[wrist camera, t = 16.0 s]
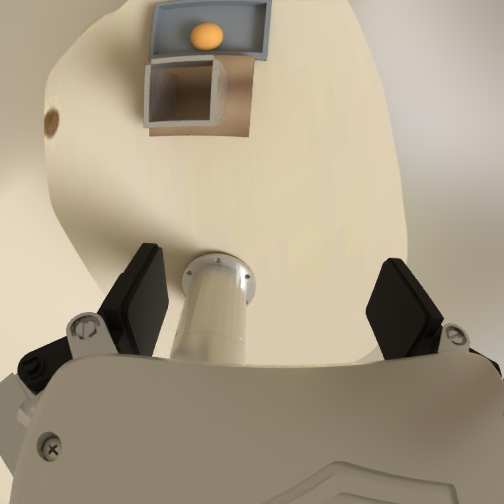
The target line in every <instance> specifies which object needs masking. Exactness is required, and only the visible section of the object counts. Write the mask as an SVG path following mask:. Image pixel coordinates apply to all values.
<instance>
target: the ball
mask: <svg viewBox="0 0 504 504" xmlns="http://www.w3.org/2000/svg"><path fill="white" fill-rule="evenodd" d="M222 40H223V32H222V30H221V28H220V27H219V26H217V25H216V24H213V23H203V24H200V25H198V26H197V27H195V28H194V30H193V31H192V33H191V42H192V44H193V46H194V47H196V48H197V49H199V50H203V51H208V50H212V49H215V48H216V47H218V46H219V45H220V44H221V42H222Z"/></svg>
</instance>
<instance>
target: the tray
mask: <svg viewBox="0 0 504 504" xmlns="http://www.w3.org/2000/svg"><path fill="white" fill-rule="evenodd" d="M271 5H272V0H176V1H168V2H161V3H155V9H154V15H153V22H152V30H151V39H150V49H149V60H150V61H151V59H158V58H167V57H179V56H195V55H236V56H255V60H263V61H266V60H267V53H268V41H269V29H270V17H271ZM203 23H213V24H216V25H217V26H219V27H220V28H221V30H222V32H223V40H222V42H221V44H220V45H219V46H218V47H216V48H215V49H212V50H208V51H203V50H199V49H197V48H196V47H194V46H193V44H192V42H191V33H192V31H193V30H194V28H195V27H197V26H198V25H200V24H203Z"/></svg>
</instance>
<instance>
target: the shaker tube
mask: <svg viewBox="0 0 504 504" xmlns="http://www.w3.org/2000/svg"><path fill="white" fill-rule="evenodd" d="M200 66H213V69H212V84H211V102H210V117H176V91H177V74H175V73H173V72H170V71H167V70H165V69H167V68H180V67H200ZM227 84H228V72H227V71H226V69H225V68H224V66H223V65H222V63H221V62H220V61H219V60H217V59H216V58H215V56H214V55H195V56H179V57H167V58H158V59H151V65H145V82H144V128H154V127H176V126H217V125H219V124H221V123H223V122H225V118H226V100H227Z"/></svg>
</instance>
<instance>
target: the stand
mask: <svg viewBox="0 0 504 504" xmlns="http://www.w3.org/2000/svg"><path fill="white" fill-rule="evenodd" d="M214 56H215V58H216V59H217V60H219V61H220V62H221V63H222V65H223V66H224V68H225V69H226V71H227V72H228V84H227V100H226V118H225V122H223V123H221V124H219V125H217V126H176V127H154V128H149V136H179V135H205V136H236V137H249V125H250V111H251V98H252V85H253V73H254V60H255V56H236V55H214ZM212 69H213V66H200V67H180V68H167V69H165V70H167V71H170V72H173V73H175V74H177V91H176V117H210V102H211V84H212Z"/></svg>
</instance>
